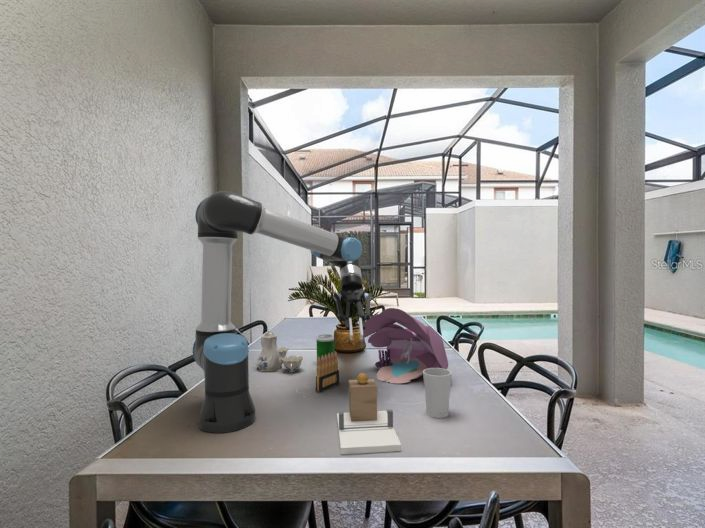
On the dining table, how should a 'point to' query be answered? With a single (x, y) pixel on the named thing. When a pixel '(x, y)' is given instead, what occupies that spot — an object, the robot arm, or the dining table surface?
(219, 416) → the robot arm
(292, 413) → the dining table surface
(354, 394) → the block
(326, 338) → the soda can
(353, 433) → the stand
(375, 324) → the flower arrangement
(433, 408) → the cup
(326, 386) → the ammunition clip
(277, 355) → the chinaware
